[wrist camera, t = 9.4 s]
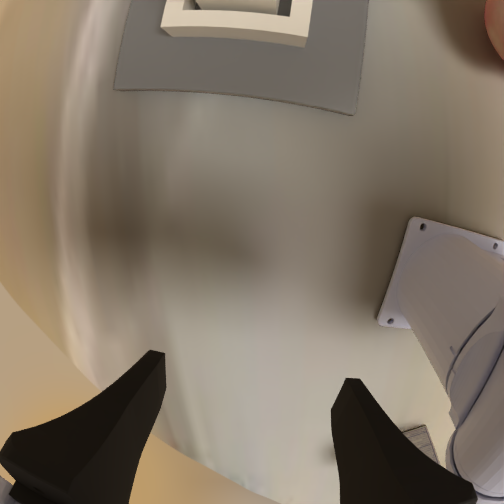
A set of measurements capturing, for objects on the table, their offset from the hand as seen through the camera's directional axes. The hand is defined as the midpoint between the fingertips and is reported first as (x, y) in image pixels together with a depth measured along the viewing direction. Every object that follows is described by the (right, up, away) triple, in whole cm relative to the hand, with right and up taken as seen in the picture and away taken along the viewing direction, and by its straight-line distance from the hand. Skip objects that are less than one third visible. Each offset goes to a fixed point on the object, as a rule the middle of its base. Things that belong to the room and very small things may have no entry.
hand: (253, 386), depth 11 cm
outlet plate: (0, +21, +2) cm, 21 cm away
